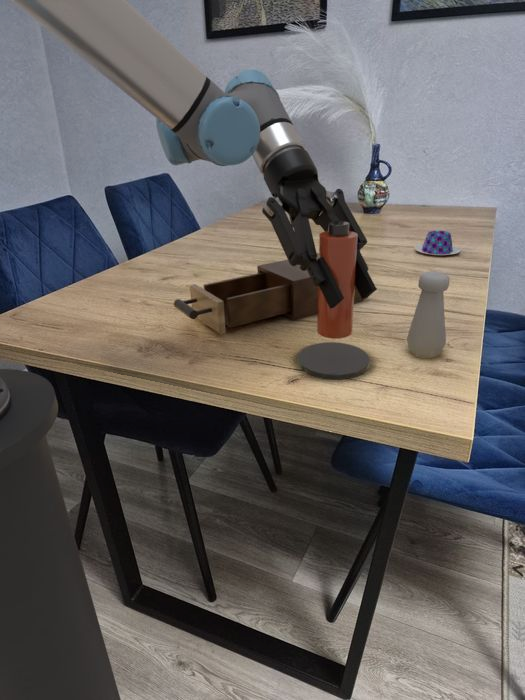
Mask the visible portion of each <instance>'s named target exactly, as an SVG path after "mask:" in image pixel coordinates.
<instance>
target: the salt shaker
mask: <svg viewBox="0 0 525 700" xmlns="http://www.w3.org/2000/svg"><path fill="white" fill-rule="evenodd" d="M417 285H418V288H419V289H420V290H421V291H420V293H419V297H418V301H417V304H416V308H415V310H414V314H413V317H412V321H411V324H410V328H409V330H408V334H407V337H406V341H407V344H408V348H409V352H410V353H411V354H412V355H414V356H415V357H417V358H421V359H429V360H430V359H433V358H436V357H438V356H439V355H440V354H441V352H442V350H444V348H445V346H446V343H447V334H446V332H447V331H446V319H445V318H446V317H445V316H446V315H445V299H444V298H445V297H444V296H445V295H444V294H445V293H444V292H446V291H448V289H449V286H450V276H449V275H448V274H446V273H445V272H441V271H436V270H435V271H434V270H430V271H425V272H422V273H421V274H420V276H419V279H418V284H417Z"/></svg>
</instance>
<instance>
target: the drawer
mask: <svg viewBox="0 0 525 700" xmlns="http://www.w3.org/2000/svg"><path fill="white" fill-rule="evenodd" d="M189 294H190V299H186V300H181V299H179V298H176V299H175V300H174V301H173V306H174V308H175V309H177V310H179V311H180V312H181V313H183V314H184V316H187V317H188V318H189V319H190V320H196V319H199V320H200V321H201V322H203V323H204V324H206V326H208V327H210V328H211V329H212V330H214V331H215V332H216V333H218V334H219V335H220V334H225V333H226V331H227V330H226V326H227V327H229V328H235V327H238V326H243V325H247V324H251V323H253V322H258V321H261V320H264V319H268V318H272V317H276V316H279V315H280V316H281V315H284V313H288V312H291V284H289V283H287V282H285V281H283V280H280V279H278V278H276V277H274V276H271V275H269V274H267V273H264V272H261V273H258V272H257V273H253V274H248V275H242V276H238V277H233V278H228V279H224V280H223V279H222V280H219V281H215V282H210V283H205V284H203V288H202V287H201V286H199V285H198V284H196V283H194V284H189Z"/></svg>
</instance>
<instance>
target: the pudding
mask: <svg viewBox="0 0 525 700" xmlns="http://www.w3.org/2000/svg"><path fill="white" fill-rule="evenodd" d="M413 249H414V250H415V251H417V252H419V253H422V254H426V255H428V256H429V255H430V256H441V257H442V256H450V255H455V254H459V253H460V252H461V248H460V247H457V246H455V245H453V241H452V234H451V232H449V231H446V230H430V231H428V233H427V234H426V237H425V240H424V242H423V244H417V245H415V246H414V247H413Z"/></svg>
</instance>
